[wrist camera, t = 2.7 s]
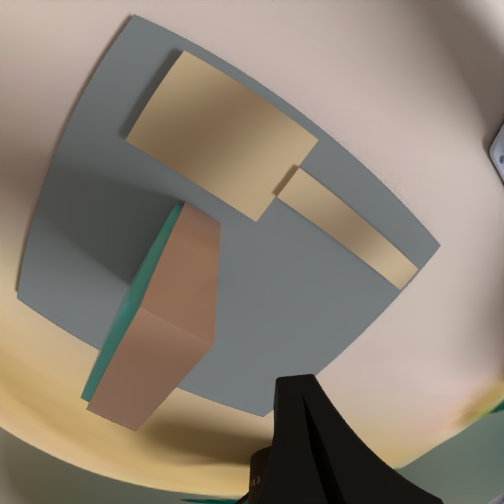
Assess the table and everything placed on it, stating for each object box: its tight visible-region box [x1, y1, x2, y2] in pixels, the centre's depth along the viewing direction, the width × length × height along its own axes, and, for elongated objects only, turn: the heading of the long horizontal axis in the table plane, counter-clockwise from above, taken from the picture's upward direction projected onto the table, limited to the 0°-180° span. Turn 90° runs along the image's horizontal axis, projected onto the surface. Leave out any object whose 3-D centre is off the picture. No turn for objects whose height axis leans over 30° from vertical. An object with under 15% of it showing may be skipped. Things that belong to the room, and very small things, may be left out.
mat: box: [17, 15, 441, 417], centre depth 14 cm, size 18×16×1 cm
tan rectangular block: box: [81, 202, 221, 431], centre depth 10 cm, size 2×5×7 cm, turn 145°
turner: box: [126, 50, 419, 290], centre depth 11 cm, size 14×4×1 cm, turn 54°
